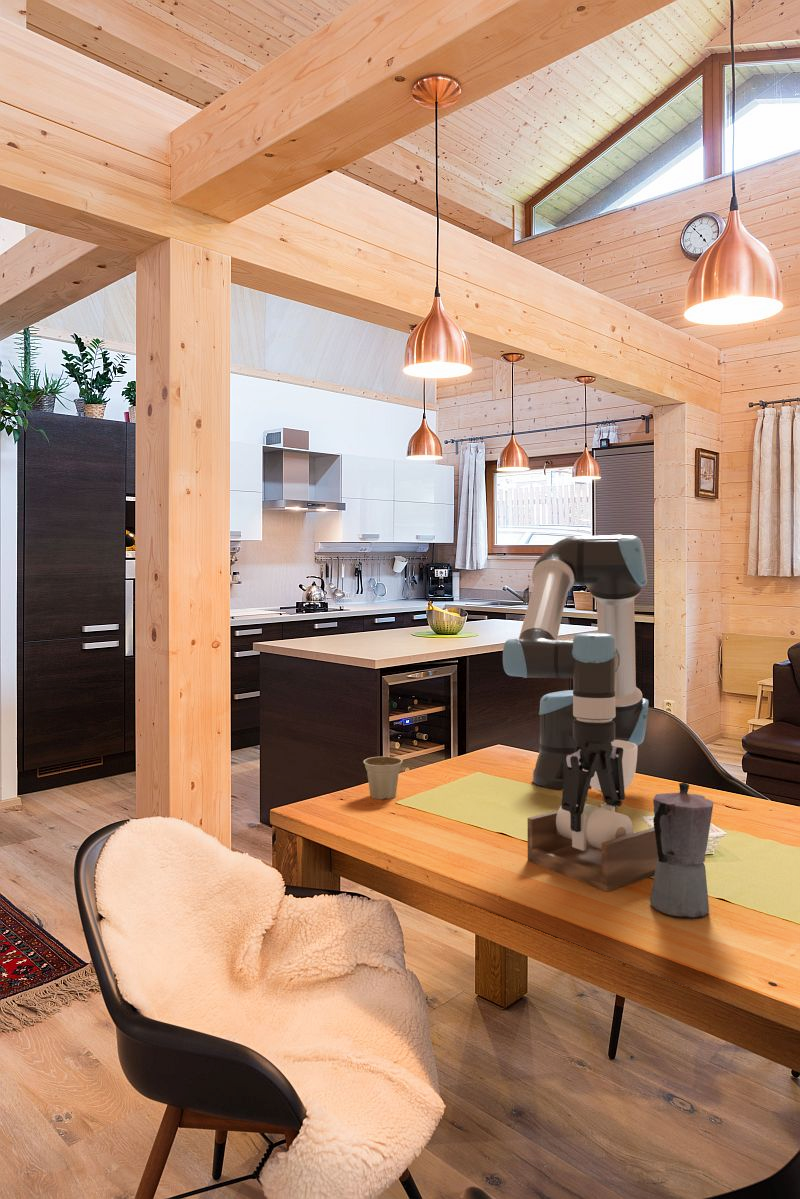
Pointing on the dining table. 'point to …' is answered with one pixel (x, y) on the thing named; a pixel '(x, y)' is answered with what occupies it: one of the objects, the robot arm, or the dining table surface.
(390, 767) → the flower pot
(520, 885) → the dining table surface
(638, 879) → the holder
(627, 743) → the cup
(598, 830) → the roll
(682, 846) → the moka pot
